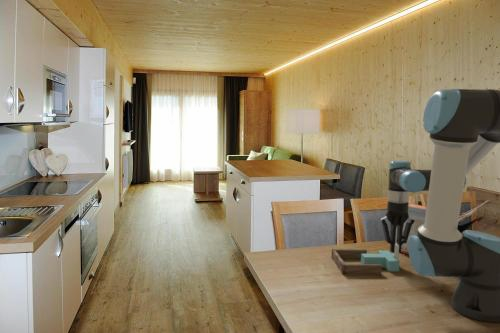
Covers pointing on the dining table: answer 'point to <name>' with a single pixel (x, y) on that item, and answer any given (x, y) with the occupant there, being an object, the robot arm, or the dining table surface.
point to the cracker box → (419, 216)
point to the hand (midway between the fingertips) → (394, 260)
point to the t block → (381, 260)
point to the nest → (354, 268)
